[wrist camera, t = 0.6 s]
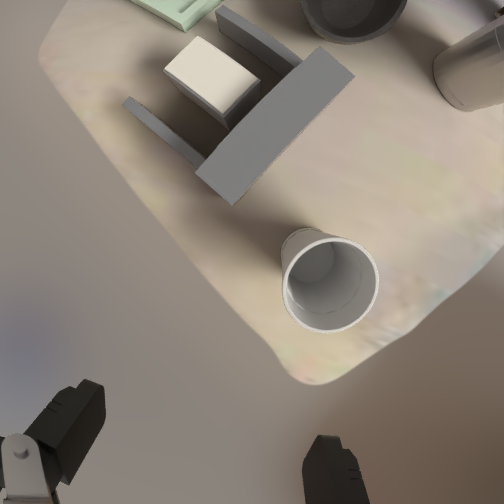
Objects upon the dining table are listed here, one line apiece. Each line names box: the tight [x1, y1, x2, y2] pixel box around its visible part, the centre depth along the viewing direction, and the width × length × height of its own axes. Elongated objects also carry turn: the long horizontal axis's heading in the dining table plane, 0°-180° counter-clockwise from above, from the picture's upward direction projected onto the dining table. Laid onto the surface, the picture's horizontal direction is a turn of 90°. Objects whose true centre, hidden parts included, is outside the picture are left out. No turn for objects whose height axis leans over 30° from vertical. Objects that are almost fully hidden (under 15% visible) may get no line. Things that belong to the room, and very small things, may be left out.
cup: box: [281, 228, 379, 333], centre depth 29 cm, size 8×8×12 cm
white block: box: [163, 36, 261, 131], centre depth 28 cm, size 5×9×8 cm, turn 48°
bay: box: [122, 5, 355, 205], centre depth 27 cm, size 15×16×10 cm
